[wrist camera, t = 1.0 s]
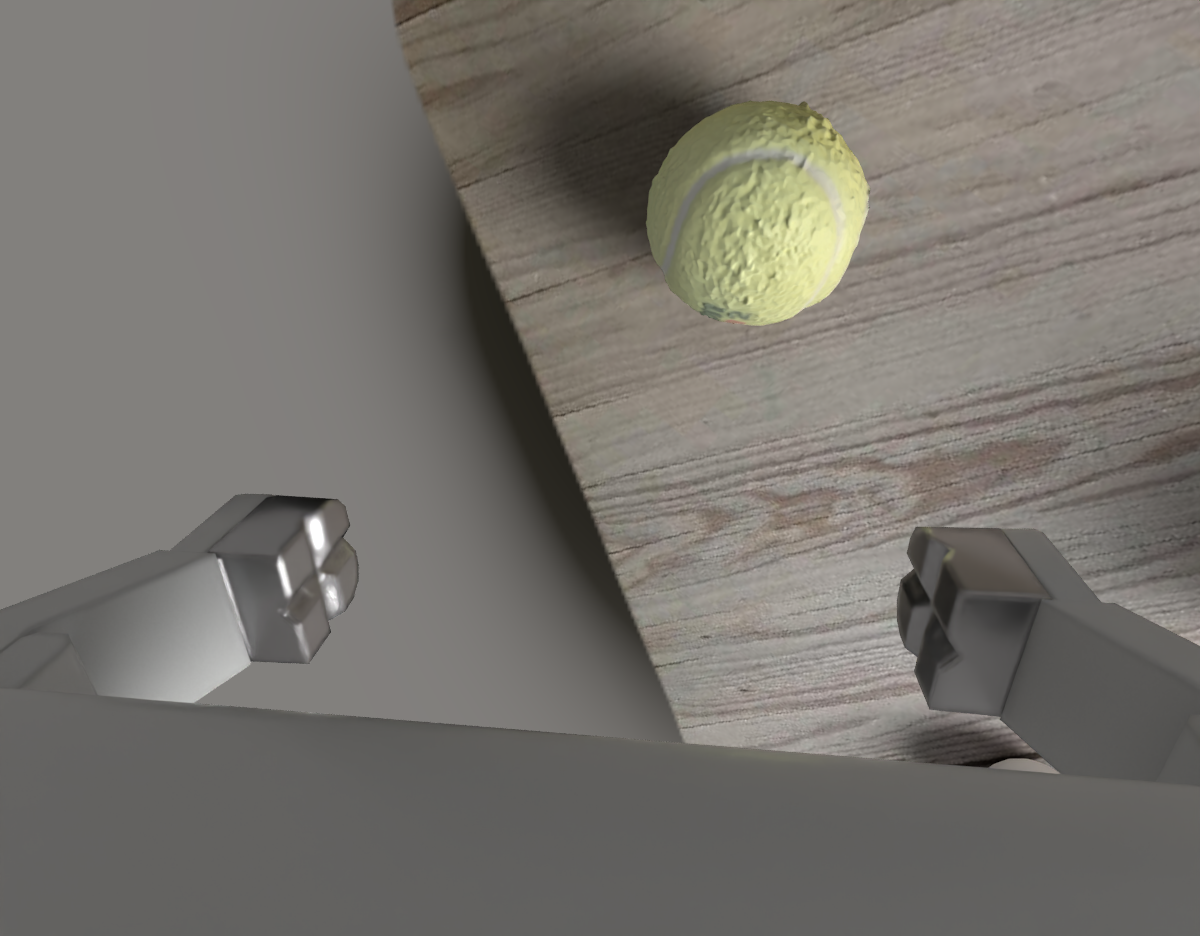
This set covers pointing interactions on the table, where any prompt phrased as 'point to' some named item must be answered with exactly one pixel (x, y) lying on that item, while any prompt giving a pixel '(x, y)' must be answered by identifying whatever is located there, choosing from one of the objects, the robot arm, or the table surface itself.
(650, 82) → the table surface
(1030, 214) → the table surface
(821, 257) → the tennis ball
